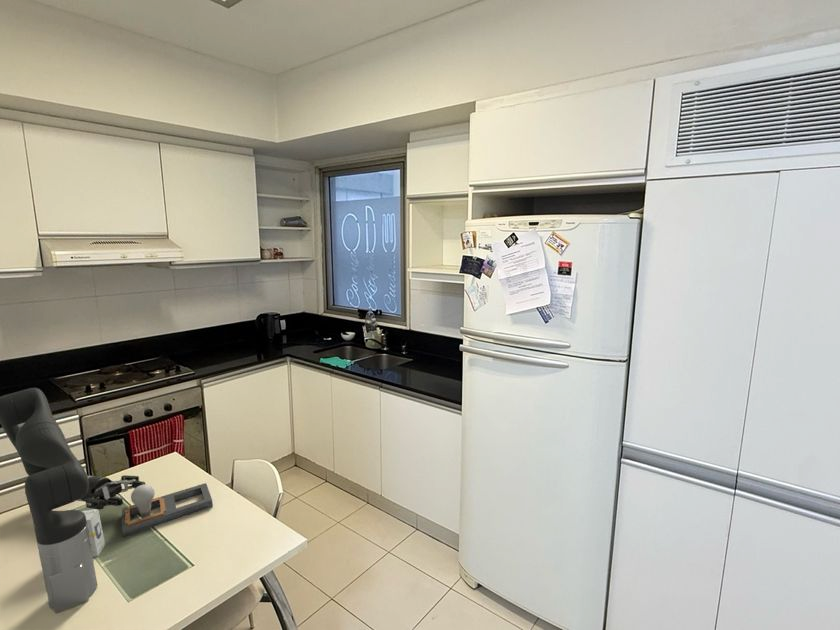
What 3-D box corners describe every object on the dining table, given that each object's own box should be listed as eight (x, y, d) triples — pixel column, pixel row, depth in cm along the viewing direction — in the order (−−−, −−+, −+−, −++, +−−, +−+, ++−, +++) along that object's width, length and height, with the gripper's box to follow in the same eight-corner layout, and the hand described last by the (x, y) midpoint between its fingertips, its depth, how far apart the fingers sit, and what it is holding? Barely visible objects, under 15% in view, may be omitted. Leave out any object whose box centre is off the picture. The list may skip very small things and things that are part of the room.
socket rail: (212, 506, 138) (212, 499, 137) (123, 536, 124) (121, 528, 124) (206, 489, 147) (206, 482, 147) (123, 515, 134) (121, 507, 134)
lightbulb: (129, 522, 131) (124, 490, 129) (147, 510, 136) (142, 479, 134) (145, 526, 129) (140, 493, 127) (162, 513, 135) (158, 482, 133)
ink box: (105, 544, 121) (99, 507, 119) (97, 557, 116) (91, 518, 114) (70, 550, 119) (63, 512, 117) (60, 564, 114) (53, 524, 112)
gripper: (65, 491, 127) (111, 496, 124) (107, 466, 141) (150, 470, 138) (69, 513, 128) (115, 519, 125) (111, 486, 142) (153, 491, 139)
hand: (133, 493), depth 132 cm, fingers open, 8 cm apart
